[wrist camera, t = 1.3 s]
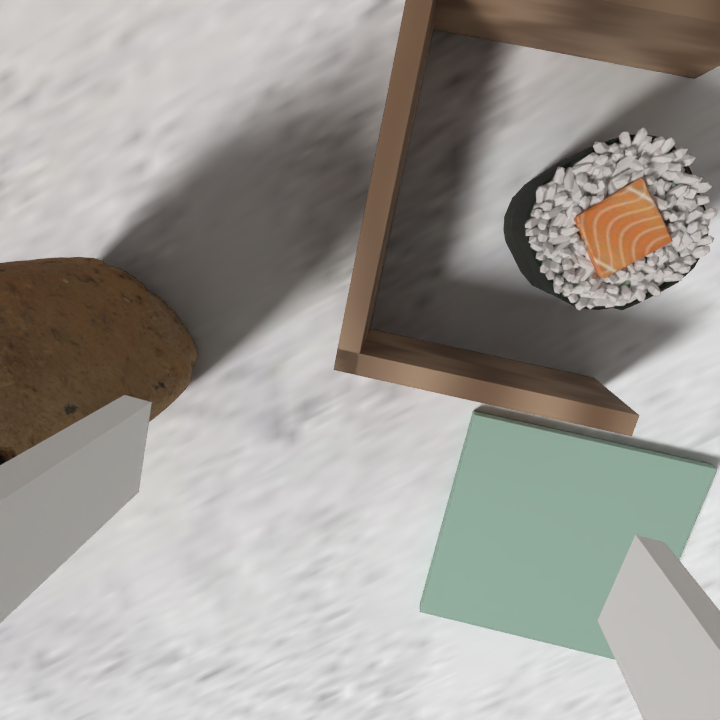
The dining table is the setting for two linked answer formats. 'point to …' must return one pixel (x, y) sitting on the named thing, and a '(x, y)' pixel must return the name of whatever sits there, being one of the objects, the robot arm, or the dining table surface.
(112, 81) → the dining table surface
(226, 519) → the dining table surface
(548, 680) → the dining table surface
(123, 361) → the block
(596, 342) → the dining table surface
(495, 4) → the frame
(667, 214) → the sushi
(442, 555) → the mat
